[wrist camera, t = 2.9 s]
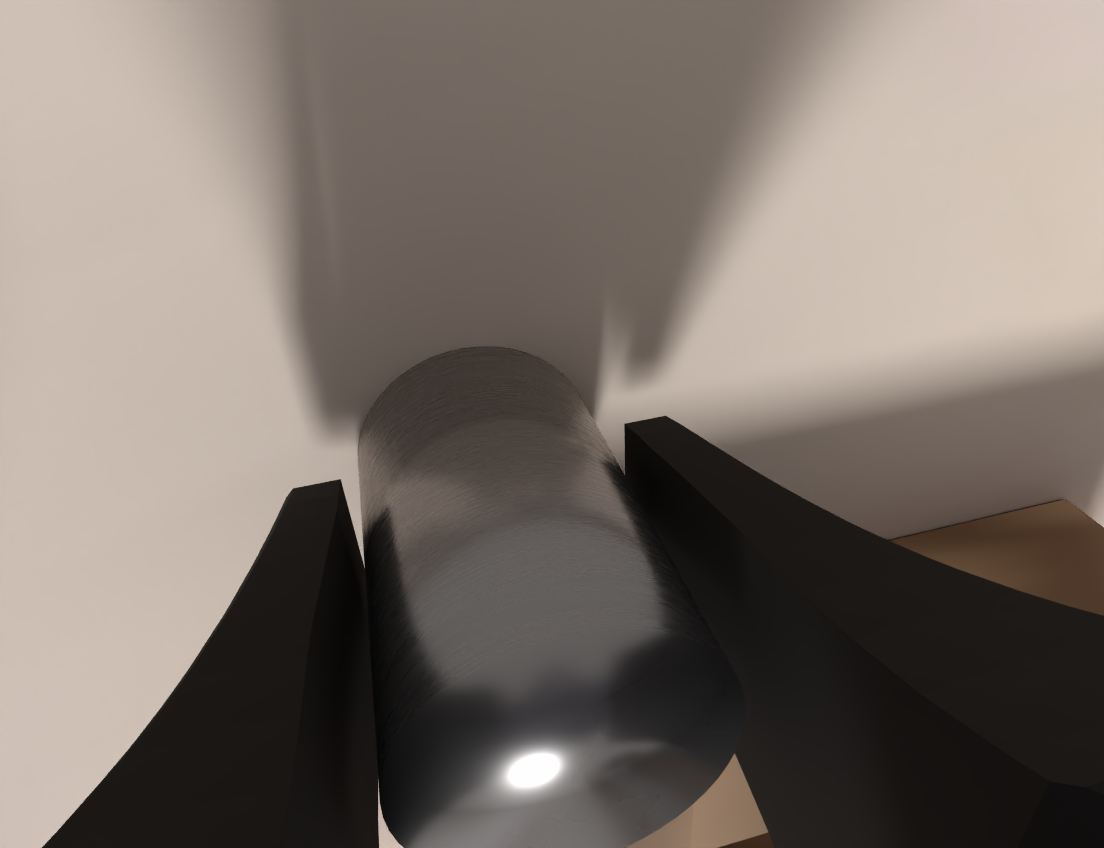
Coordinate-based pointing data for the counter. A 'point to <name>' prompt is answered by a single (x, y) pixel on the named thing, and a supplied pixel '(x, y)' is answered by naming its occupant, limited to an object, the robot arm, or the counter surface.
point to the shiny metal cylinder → (526, 621)
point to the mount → (975, 547)
